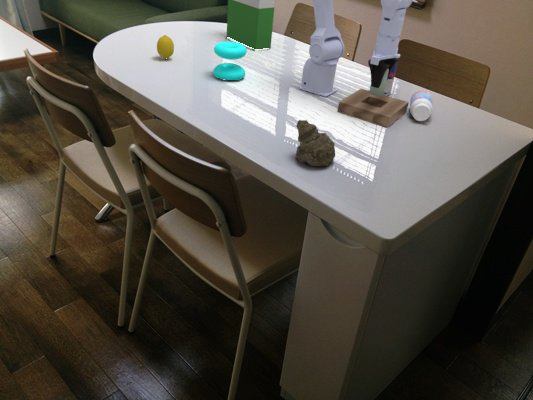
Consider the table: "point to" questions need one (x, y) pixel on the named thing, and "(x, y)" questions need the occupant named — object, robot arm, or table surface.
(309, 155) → the brown lumpy stone
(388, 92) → the energy drink
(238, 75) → the donuts
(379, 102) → the socket block
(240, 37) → the green and white box
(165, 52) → the lemon
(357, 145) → the table surface
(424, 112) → the pill bottle
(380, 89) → the peg
